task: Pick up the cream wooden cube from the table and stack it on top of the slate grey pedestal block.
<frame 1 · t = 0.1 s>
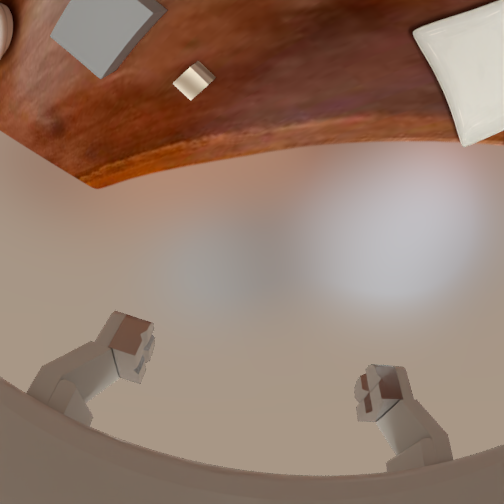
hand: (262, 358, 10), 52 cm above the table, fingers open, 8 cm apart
pedestal: (111, 18, 38), on the table
chocolate pudding bowl: (0, 28, 34), on the table
square plate: (484, 67, 34), on the table
cream cube: (198, 76, 49), on the table
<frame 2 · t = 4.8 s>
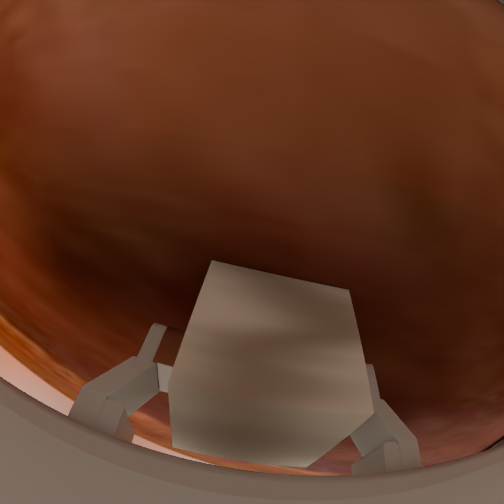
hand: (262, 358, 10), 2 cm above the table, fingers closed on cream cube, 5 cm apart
cream cube: (266, 324, 11), on the table, touching gripper
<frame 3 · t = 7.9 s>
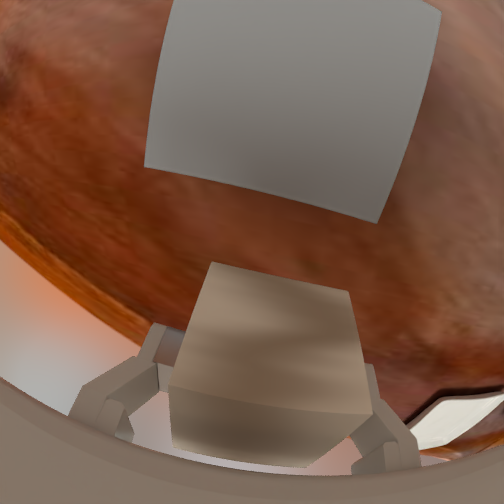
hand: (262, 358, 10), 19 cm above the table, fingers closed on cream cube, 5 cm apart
pedestal: (291, 73, 21), on the table
square plate: (441, 416, 50), on the table
cream cube: (265, 325, 11), point 17 cm above the table, touching gripper
when the fingers open (9 cm above the table, at t = 11.3 s): cream cube drops 1 cm, resting on pedestal.
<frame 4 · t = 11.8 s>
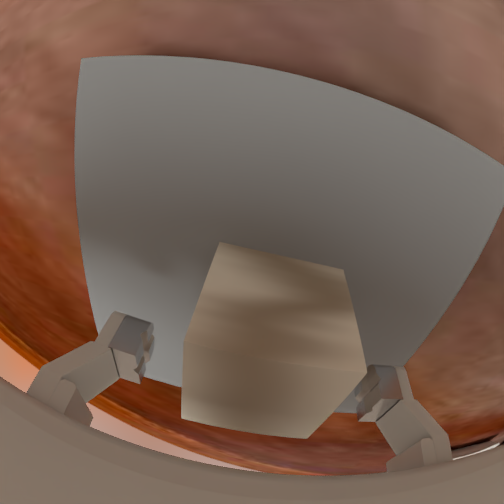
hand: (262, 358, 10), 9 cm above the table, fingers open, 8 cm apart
pedestal: (272, 235, 18), on the table
square plate: (431, 463, 47), on the table
cream cube: (268, 303, 13), point 6 cm above the table, touching pedestal
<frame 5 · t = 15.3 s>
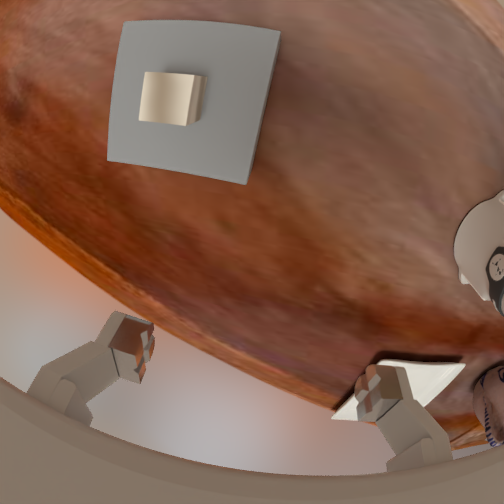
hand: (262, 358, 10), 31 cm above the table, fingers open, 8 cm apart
pedestal: (196, 93, 33), on the table
ceramic pitcher: (486, 375, 60), on the table
square plate: (396, 384, 62), on the table
cream cube: (181, 95, 28), point 6 cm above the table, touching pedestal
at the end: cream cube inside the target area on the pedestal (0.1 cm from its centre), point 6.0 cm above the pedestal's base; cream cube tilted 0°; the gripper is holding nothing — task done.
